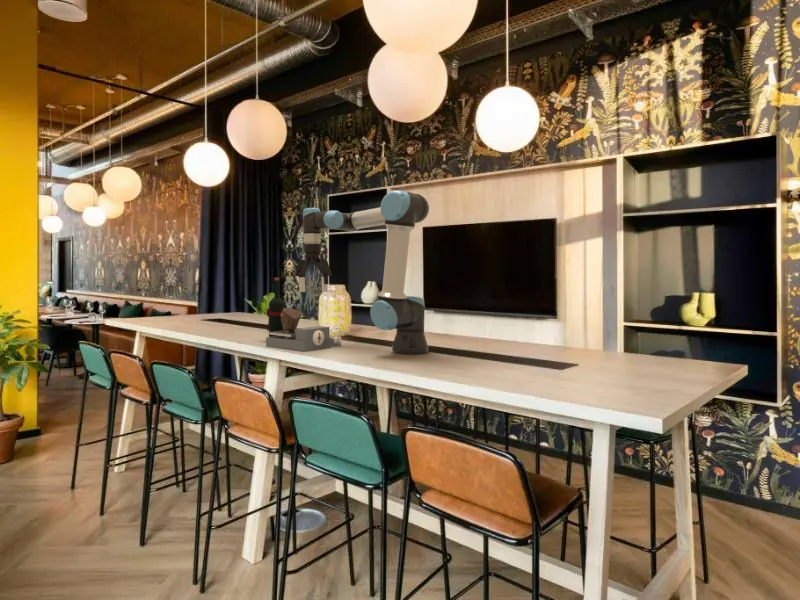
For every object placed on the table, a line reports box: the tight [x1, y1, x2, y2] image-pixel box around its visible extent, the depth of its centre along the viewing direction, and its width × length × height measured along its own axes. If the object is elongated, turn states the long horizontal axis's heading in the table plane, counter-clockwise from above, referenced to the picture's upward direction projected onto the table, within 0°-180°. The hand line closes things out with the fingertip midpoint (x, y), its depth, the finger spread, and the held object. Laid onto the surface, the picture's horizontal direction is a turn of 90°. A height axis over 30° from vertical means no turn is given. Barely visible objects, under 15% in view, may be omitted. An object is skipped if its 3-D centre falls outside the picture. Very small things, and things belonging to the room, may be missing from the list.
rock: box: [281, 307, 303, 332], centre depth 239 cm, size 12×10×10 cm
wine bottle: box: [266, 277, 286, 337], centre depth 253 cm, size 8×10×30 cm
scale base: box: [265, 325, 332, 352], centre depth 237 cm, size 25×16×9 cm, turn 53°
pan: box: [268, 330, 296, 337], centre depth 240 cm, size 14×14×2 cm
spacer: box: [330, 335, 342, 347], centre depth 242 cm, size 5×5×4 cm
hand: (313, 292), depth 239 cm, fingers open, 13 cm apart
